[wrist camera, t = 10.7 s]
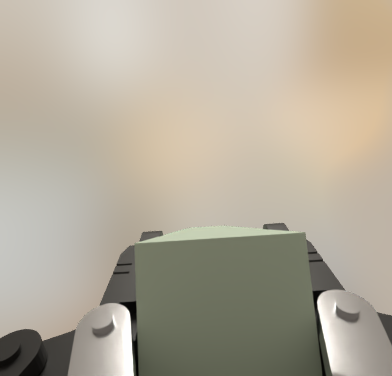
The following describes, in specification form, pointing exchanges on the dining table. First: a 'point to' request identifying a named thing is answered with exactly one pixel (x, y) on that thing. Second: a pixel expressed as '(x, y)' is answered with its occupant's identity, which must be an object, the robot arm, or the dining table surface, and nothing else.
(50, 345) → the robot arm
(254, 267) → the pale green square bar
